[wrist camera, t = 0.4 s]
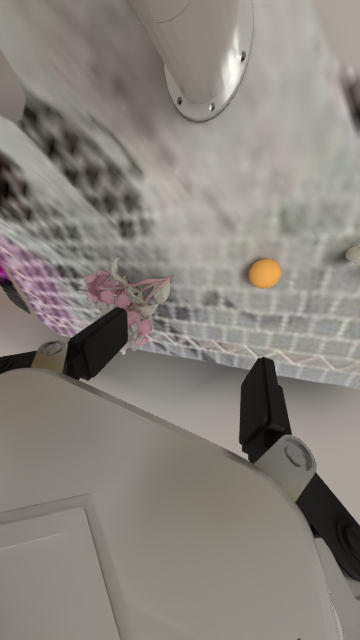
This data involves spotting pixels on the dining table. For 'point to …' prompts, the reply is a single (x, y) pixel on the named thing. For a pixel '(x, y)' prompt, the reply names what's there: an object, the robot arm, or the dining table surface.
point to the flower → (126, 300)
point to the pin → (353, 254)
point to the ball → (264, 273)
